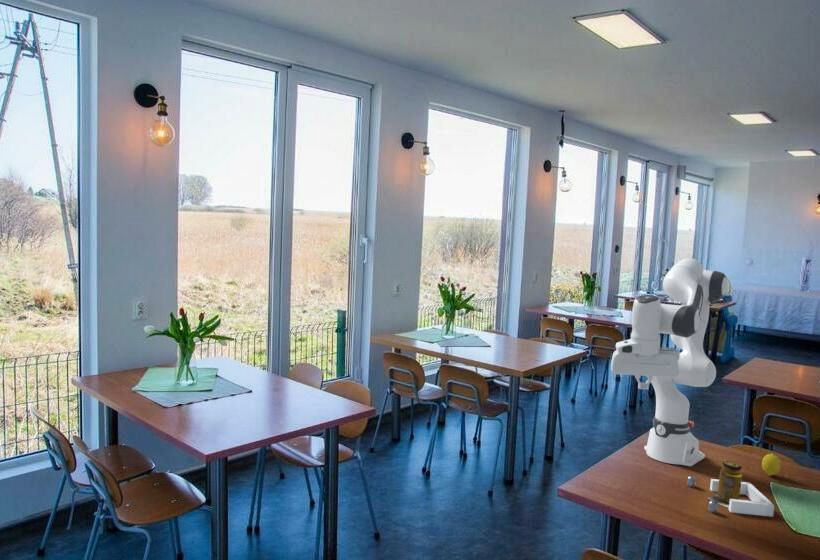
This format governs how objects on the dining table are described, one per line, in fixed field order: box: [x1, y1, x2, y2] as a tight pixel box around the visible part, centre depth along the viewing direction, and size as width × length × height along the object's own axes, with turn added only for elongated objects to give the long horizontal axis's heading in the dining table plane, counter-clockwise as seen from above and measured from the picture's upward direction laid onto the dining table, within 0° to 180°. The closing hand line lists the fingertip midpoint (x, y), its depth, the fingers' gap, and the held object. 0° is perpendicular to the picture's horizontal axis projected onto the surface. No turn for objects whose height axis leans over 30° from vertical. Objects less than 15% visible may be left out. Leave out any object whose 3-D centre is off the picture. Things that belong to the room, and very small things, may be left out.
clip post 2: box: [707, 499, 719, 515], centre depth 179 cm, size 2×2×3 cm
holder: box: [709, 478, 775, 518], centre depth 187 cm, size 12×16×4 cm
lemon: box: [761, 452, 781, 477], centre depth 210 cm, size 6×6×8 cm
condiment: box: [707, 460, 743, 509], centre depth 187 cm, size 7×8×12 cm
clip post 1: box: [686, 475, 697, 489], centre depth 197 cm, size 2×2×3 cm
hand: (643, 388), depth 194 cm, fingers closed
